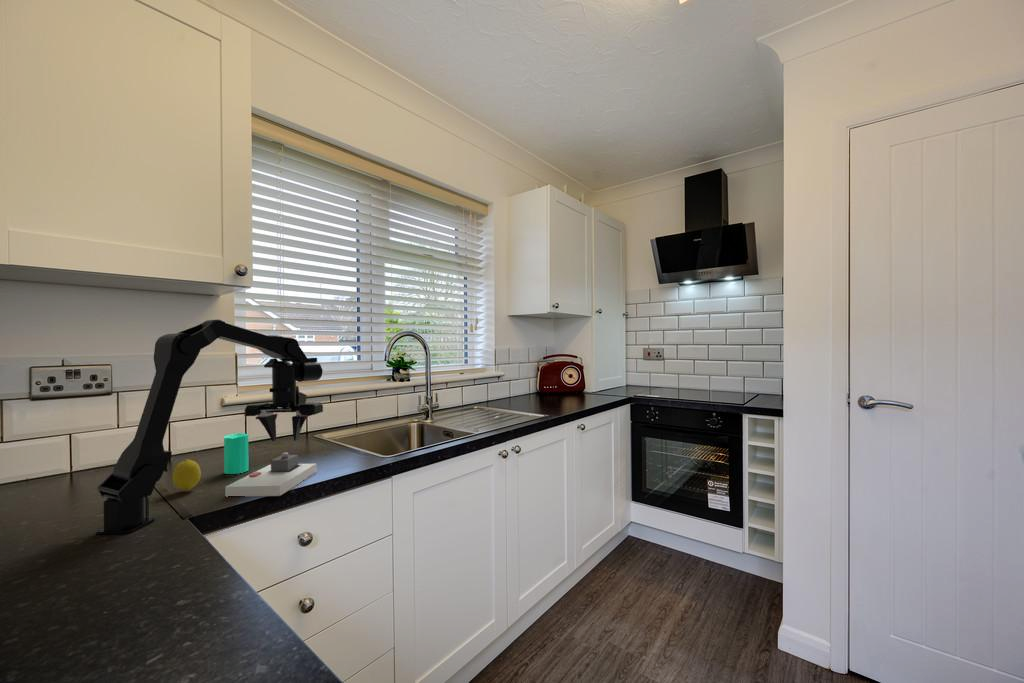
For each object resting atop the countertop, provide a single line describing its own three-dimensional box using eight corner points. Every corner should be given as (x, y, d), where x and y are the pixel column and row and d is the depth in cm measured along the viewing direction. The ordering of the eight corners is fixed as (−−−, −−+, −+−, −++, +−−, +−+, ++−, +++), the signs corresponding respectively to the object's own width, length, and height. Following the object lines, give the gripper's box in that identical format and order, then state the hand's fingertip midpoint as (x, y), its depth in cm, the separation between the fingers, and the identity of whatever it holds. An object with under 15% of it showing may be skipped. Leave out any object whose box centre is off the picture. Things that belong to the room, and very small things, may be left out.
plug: (288, 479, 112) (287, 455, 112) (271, 479, 112) (270, 455, 112) (298, 472, 117) (298, 450, 117) (282, 473, 117) (282, 450, 117)
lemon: (176, 496, 101) (176, 463, 101) (169, 492, 104) (169, 460, 104) (204, 490, 105) (203, 458, 105) (196, 486, 108) (196, 455, 108)
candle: (228, 470, 122) (227, 429, 123) (251, 468, 124) (251, 427, 124) (220, 476, 117) (220, 432, 117) (245, 473, 118) (245, 431, 119)
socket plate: (280, 495, 100) (280, 483, 100) (225, 496, 100) (225, 484, 100) (316, 472, 119) (316, 461, 119) (270, 472, 119) (270, 462, 119)
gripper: (330, 380, 123) (331, 433, 123) (266, 381, 123) (267, 435, 123) (313, 383, 112) (314, 442, 112) (242, 385, 112) (243, 444, 112)
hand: (284, 440), depth 115 cm, fingers open, 6 cm apart
